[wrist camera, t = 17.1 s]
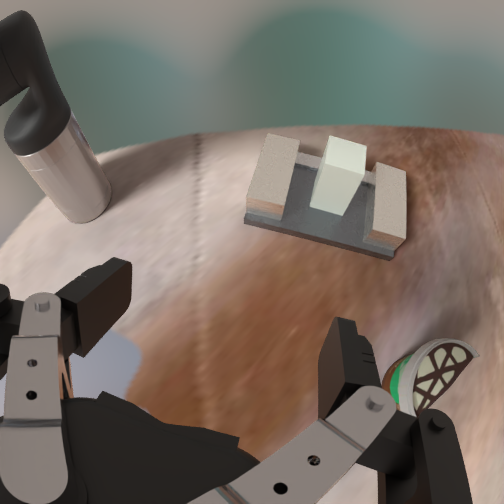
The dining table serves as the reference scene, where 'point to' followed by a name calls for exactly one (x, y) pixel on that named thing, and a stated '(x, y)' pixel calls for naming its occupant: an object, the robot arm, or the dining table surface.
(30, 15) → the robot arm
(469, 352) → the food container
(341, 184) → the block
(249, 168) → the dining table surface
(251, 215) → the rail plate
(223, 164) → the dining table surface
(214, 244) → the dining table surface
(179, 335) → the dining table surface
